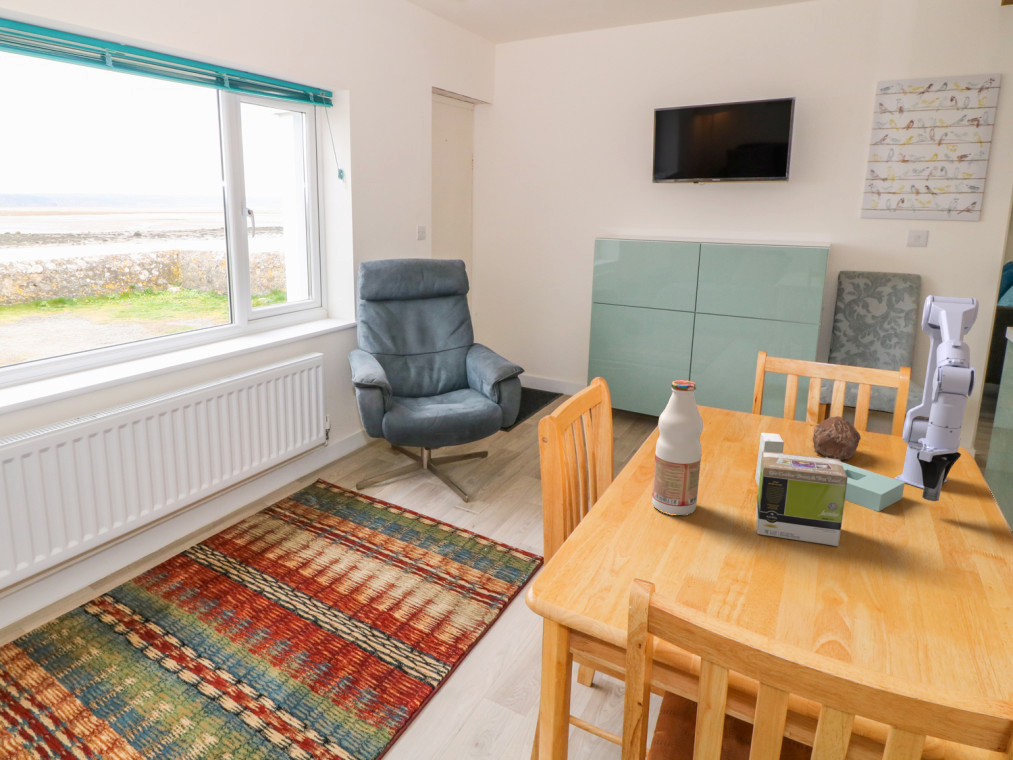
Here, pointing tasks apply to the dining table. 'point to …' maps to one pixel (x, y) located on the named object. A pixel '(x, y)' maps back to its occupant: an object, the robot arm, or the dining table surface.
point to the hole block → (871, 488)
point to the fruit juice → (678, 452)
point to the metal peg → (935, 493)
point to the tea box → (801, 497)
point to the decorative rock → (836, 438)
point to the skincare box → (768, 448)
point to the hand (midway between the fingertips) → (932, 485)
